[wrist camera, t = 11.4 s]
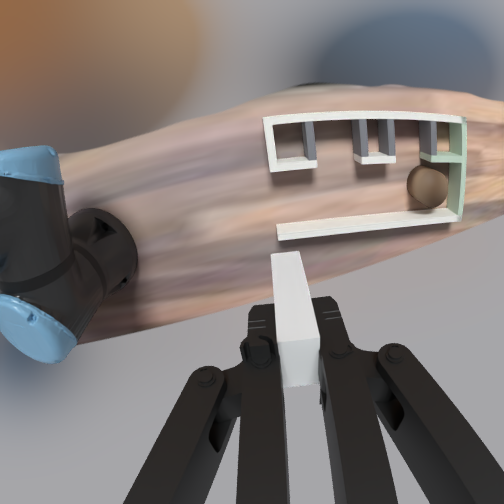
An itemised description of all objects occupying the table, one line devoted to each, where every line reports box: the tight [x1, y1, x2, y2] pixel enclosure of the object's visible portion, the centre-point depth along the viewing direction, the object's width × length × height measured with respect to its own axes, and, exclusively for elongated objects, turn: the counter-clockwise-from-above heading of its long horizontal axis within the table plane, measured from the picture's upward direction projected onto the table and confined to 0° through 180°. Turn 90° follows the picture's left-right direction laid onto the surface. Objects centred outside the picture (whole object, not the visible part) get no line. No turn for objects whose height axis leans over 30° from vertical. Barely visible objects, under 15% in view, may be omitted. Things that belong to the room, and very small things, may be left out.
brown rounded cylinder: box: [407, 165, 448, 208], centre depth 37 cm, size 6×6×4 cm
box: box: [263, 111, 467, 241], centre depth 37 cm, size 30×16×4 cm, turn 98°
